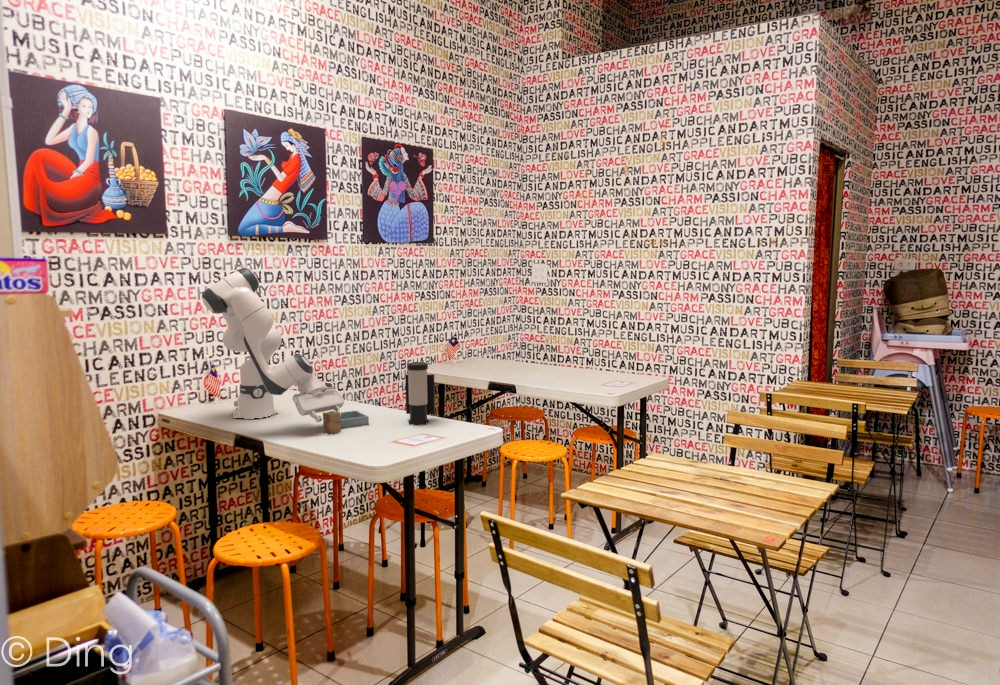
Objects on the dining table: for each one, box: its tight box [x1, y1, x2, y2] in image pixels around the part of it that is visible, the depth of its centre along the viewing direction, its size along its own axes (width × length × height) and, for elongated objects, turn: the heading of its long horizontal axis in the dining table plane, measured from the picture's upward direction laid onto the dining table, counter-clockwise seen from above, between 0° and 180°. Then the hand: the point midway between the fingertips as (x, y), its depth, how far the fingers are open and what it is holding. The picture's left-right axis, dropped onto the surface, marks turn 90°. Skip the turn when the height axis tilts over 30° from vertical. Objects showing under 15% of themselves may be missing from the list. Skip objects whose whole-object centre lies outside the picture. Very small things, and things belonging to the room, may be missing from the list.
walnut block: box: [322, 410, 341, 435], centre depth 268 cm, size 4×4×8 cm
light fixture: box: [404, 361, 436, 426], centre depth 283 cm, size 12×11×25 cm
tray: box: [340, 410, 370, 430], centre depth 283 cm, size 14×14×4 cm
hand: (329, 418), depth 268 cm, fingers open, 8 cm apart
